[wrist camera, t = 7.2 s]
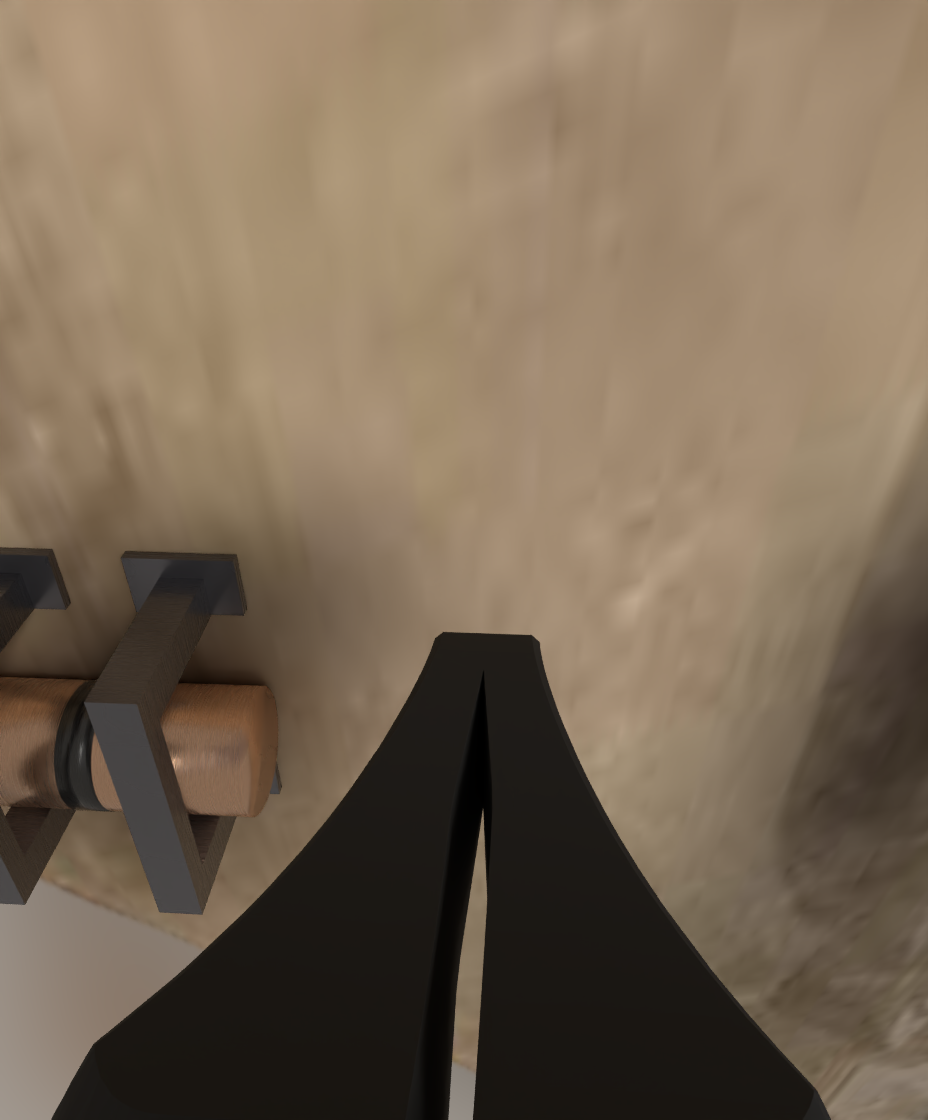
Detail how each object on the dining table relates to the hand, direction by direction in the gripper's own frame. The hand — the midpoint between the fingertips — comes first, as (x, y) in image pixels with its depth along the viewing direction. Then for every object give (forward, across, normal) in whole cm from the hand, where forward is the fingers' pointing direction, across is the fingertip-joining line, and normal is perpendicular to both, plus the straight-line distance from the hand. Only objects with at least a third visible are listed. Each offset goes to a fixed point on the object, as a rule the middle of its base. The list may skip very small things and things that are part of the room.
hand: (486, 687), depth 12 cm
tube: (+9, +11, +9) cm, 17 cm away
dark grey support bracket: (+9, +8, +9) cm, 16 cm away
